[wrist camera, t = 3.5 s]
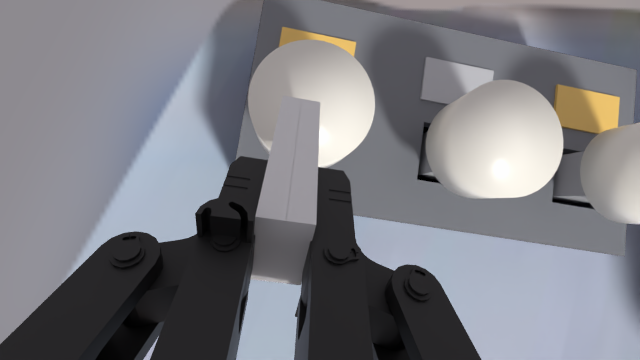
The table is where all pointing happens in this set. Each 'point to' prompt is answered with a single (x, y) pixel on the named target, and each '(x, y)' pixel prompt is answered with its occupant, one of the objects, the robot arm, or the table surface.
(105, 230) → the table surface
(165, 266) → the robot arm
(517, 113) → the button middle
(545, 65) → the console
